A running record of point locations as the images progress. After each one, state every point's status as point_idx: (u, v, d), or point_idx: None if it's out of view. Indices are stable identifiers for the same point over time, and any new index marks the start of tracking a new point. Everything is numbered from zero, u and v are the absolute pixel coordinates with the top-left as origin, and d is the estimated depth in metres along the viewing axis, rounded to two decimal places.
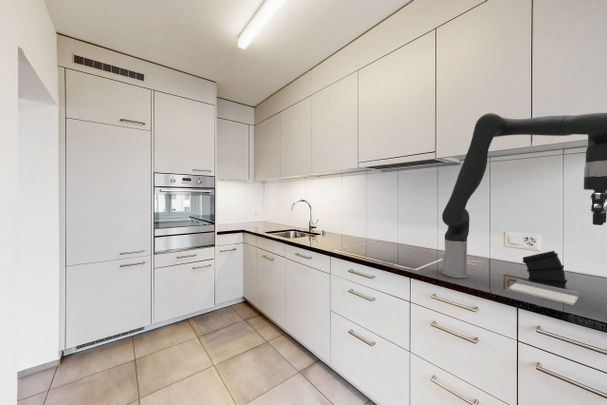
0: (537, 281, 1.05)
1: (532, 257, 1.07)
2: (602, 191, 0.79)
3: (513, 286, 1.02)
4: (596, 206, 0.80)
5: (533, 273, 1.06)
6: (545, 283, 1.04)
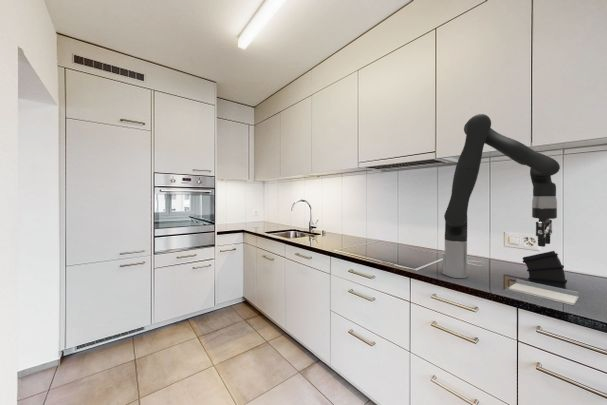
0: (537, 281, 1.05)
1: (532, 257, 1.07)
2: (544, 220, 1.02)
3: (513, 286, 1.02)
4: (540, 231, 1.03)
5: (533, 273, 1.06)
6: (545, 283, 1.04)
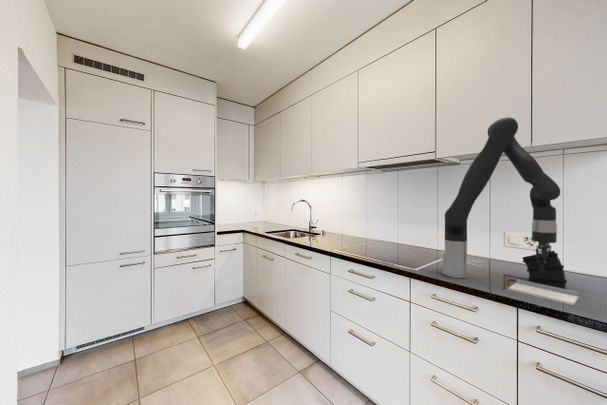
0: (537, 281, 1.05)
1: (532, 257, 1.07)
2: (543, 244, 1.02)
3: (513, 286, 1.02)
4: (540, 256, 1.04)
5: (533, 273, 1.06)
6: (545, 283, 1.04)
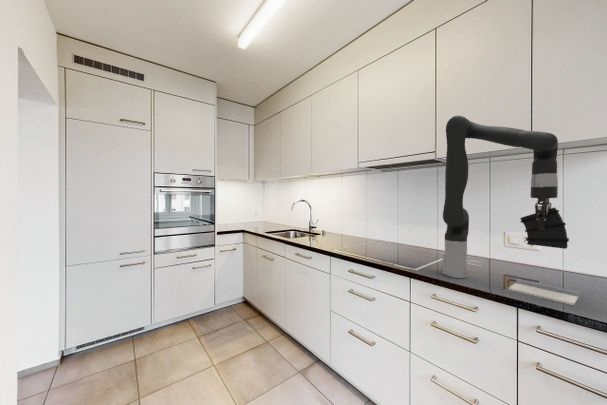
0: (536, 241, 0.96)
1: (531, 216, 0.97)
2: (543, 199, 0.93)
3: (513, 286, 1.02)
4: (540, 214, 0.95)
5: (532, 233, 0.97)
6: (545, 243, 0.94)
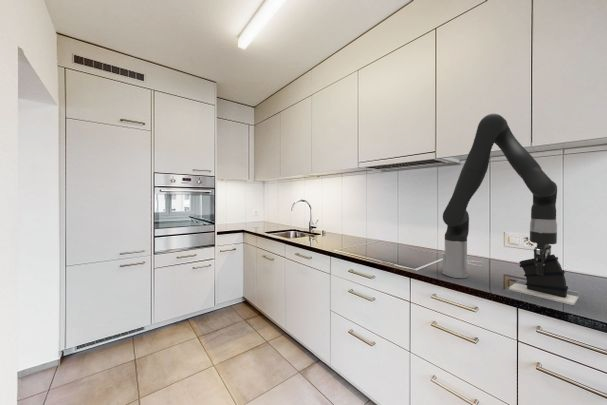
0: (535, 287, 0.96)
1: (530, 261, 0.97)
2: (542, 245, 0.93)
3: (513, 286, 1.02)
4: (538, 258, 0.94)
5: (531, 278, 0.97)
6: (544, 290, 0.94)
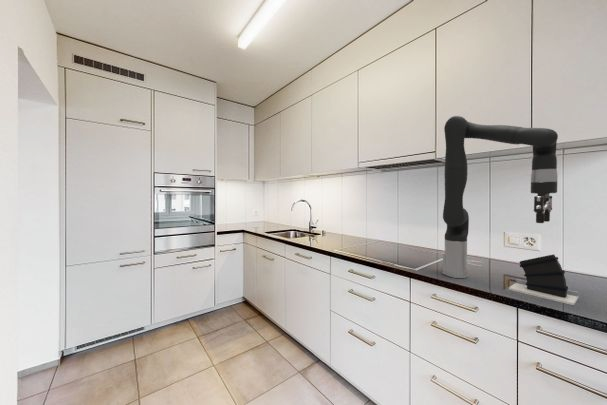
0: (535, 287, 0.96)
1: (530, 261, 0.98)
2: (543, 194, 0.94)
3: (513, 286, 1.02)
4: (539, 207, 0.95)
5: (531, 278, 0.97)
6: (544, 290, 0.94)
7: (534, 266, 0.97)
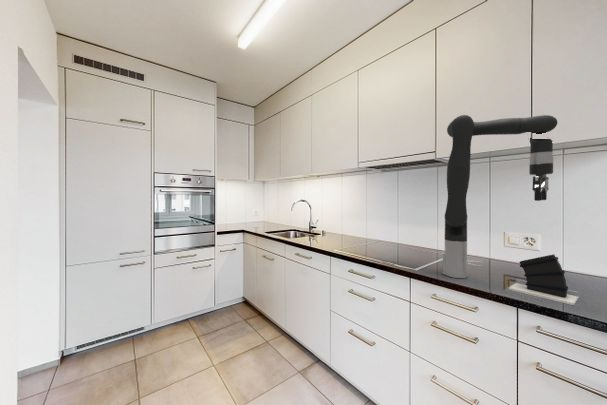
0: (535, 287, 0.96)
1: (530, 261, 0.98)
2: (540, 175, 1.05)
3: (513, 286, 1.02)
4: (537, 186, 1.06)
5: (531, 278, 0.97)
6: (544, 290, 0.94)
7: (534, 266, 0.97)
